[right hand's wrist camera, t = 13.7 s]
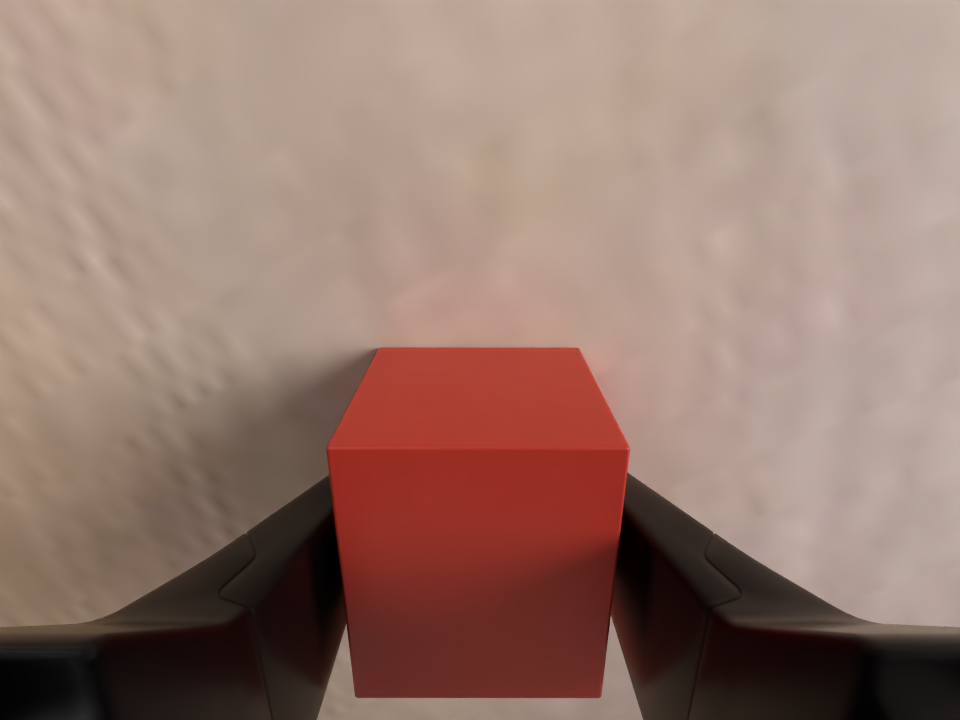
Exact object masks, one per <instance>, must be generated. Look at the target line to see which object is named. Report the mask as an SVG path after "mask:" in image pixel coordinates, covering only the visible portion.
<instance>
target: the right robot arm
mask: <svg viewBox="0 0 960 720" xmlns="http://www.w3.org/2000/svg"><path fill="white" fill-rule="evenodd" d="M611 616H612V620H613V623H614V626H615V629H616V633H617V636H618V639H619V642H620V646H621V649H622V652H623V655H624V658H625V662H626V665H627V668H628V671H629V675H630V678H631V681H632V684H633V688H634V691H635V694H636V697H637V701H638V704H639V707H640V710H641V713H642V717H643V720H960V627H938V626H916V625H894V624H879V623H874V622H869V621H866V620H863V619H860V618H857V617H854V616H852V615H850V614H847V613H845V612H843V611H841V610H840V609H838V608H836V607H834V606H832V605H831V604H829V603H827V602H826V601H824V600H822V599H820V598H819V597H817V596H815V595H814V594H812V593H810V592H808V591H807V590H805V589H803V588H802V587H800V586H798V585H796V584H795V583H793V582H791V581H790V580H788V579H786V578H784V577H783V576H781V575H779V574H778V573H776V572H774V571H773V570H771V569H769V568H768V567H766V566H764V565H763V564H761V563H759V562H758V561H756V560H754V559H753V558H751V557H750V556H748V555H747V554H745V553H744V552H742V551H741V550H739V549H737V548H736V547H734V546H733V545H731V544H730V543H728V542H727V541H726V540H724V539H723V538H721V537H720V536H718V535H717V534H713V532H712V531H711V530H710V529H708V528H707V527H705V526H704V525H702V524H701V523H699V522H698V521H697V520H695V519H694V518H692V517H691V516H689V515H688V514H686V513H685V512H684V511H682V510H681V509H679V508H678V507H676V506H675V505H673V504H672V503H671V502H669V501H668V500H666V499H665V498H663V497H662V496H660V495H659V494H658V493H656V492H655V491H653V490H652V489H650V488H649V487H647V486H646V485H645V484H643V483H642V482H640V481H639V480H637V479H636V478H635V477H633V476H632V475H630V474H629V473H627V478H626V487H625V495H624V504H623V513H622V521H621V530H620V538H619V547H618V556H617V564H616V573H615V581H614V590H613V599H612V607H611ZM346 623H347V622H346V613H345V605H344V596H343V588H342V579H341V571H340V562H339V554H338V545H337V536H336V528H335V519H334V511H333V502H332V494H331V485H330V476H329V475H328V476H327V477H326V478H324V479H323V480H321V481H320V482H318V483H317V484H315V485H314V486H313V487H311V488H310V489H308V490H307V491H305V492H304V493H302V494H301V495H300V496H298V497H297V498H295V499H294V500H292V501H291V502H289V503H288V504H287V505H285V506H284V507H282V508H281V509H279V510H278V511H276V512H275V513H274V514H272V515H271V516H269V517H268V518H266V519H265V520H263V521H262V522H261V523H259V524H258V525H256V526H255V527H253V528H252V529H250V530H249V531H248V532H247V534H243V535H242V536H240V537H239V538H237V539H236V540H234V541H233V542H232V543H230V544H229V545H227V546H226V547H224V548H223V549H221V550H220V551H218V552H217V553H215V554H213V555H212V556H210V557H209V558H207V559H206V560H204V561H202V562H201V563H199V564H197V565H196V566H194V567H192V568H191V569H189V570H187V571H186V572H184V573H182V574H181V575H179V576H177V577H176V578H174V579H172V580H170V581H169V582H167V583H165V584H164V585H162V586H160V587H158V588H157V589H155V590H153V591H152V592H150V593H148V594H146V595H145V596H143V597H141V598H140V599H138V600H136V601H134V602H133V603H131V604H129V605H128V606H126V607H124V608H122V609H120V610H119V611H117V612H115V613H113V614H110V615H108V616H106V617H103V618H100V619H97V620H94V621H91V622H86V623H81V624H66V625H44V626H22V627H0V720H317V717H318V714H319V710H320V707H321V704H322V701H323V697H324V694H325V691H326V688H327V685H328V681H329V678H330V675H331V672H332V668H333V665H334V662H335V659H336V655H337V652H338V649H339V646H340V642H341V639H342V636H343V633H344V630H345V626H346Z"/></svg>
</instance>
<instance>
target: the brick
mask: <svg viewBox="0 0 960 720" xmlns="http://www.w3.org/2000/svg"><path fill="white" fill-rule="evenodd" d="M326 451H327V459H328V468H329V476H330V485H331V494H332V502H333V511H334V519H335V528H336V536H337V545H338V554H339V562H340V571H341V579H342V588H343V596H344V605H345V613H346V622H347V631H348V639H349V648H350V656H351V665H352V673H353V682H354V691H355V696H356V697H357V698H600V697H601V693H602V685H603V676H604V668H605V659H606V650H607V642H608V633H609V625H610V616H611V607H612V599H613V590H614V581H615V573H616V564H617V556H618V547H619V538H620V530H621V521H622V513H623V504H624V495H625V487H626V478H627V470H628V461H629V452H630V448H629V446H628V444H627V442H626V440H625V438H624V436H623V434H622V432H621V430H620V428H619V426H618V424H617V422H616V420H615V418H614V416H613V414H612V412H611V410H610V408H609V406H608V404H607V403H606V401H605V399H604V397H603V395H602V393H601V391H600V389H599V387H598V385H597V383H596V381H595V379H594V377H593V375H592V373H591V371H590V369H589V367H588V365H587V363H586V361H585V360H584V358H583V356H582V354H581V352H580V350H579V349H578V348H379V349H378V350H377V352H376V354H375V356H374V358H373V360H372V362H371V364H370V366H369V368H368V369H367V371H366V373H365V375H364V377H363V379H362V381H361V383H360V385H359V387H358V388H357V390H356V392H355V394H354V396H353V398H352V400H351V402H350V404H349V406H348V407H347V409H346V411H345V413H344V415H343V417H342V419H341V421H340V423H339V425H338V427H337V428H336V430H335V432H334V434H333V436H332V438H331V440H330V442H329V444H328V446H327V448H326Z"/></svg>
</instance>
